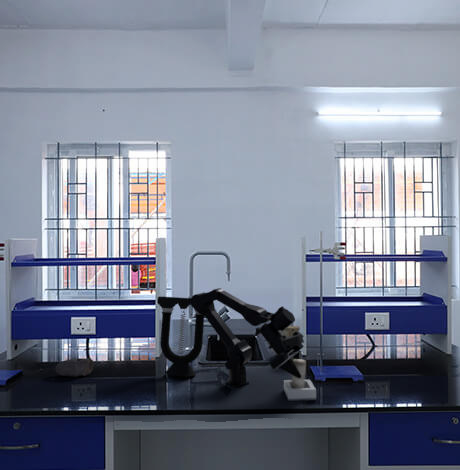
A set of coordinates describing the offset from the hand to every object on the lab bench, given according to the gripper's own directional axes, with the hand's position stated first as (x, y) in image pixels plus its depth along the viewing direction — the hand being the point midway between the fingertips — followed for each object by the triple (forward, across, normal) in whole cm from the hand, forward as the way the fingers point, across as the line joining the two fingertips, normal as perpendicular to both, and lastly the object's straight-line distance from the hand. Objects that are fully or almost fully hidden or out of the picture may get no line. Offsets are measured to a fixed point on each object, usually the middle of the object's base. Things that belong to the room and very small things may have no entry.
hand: (302, 375), depth 143 cm
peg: (+3, 0, +6) cm, 6 cm away
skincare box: (-11, +43, +23) cm, 50 cm away
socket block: (+4, 0, +6) cm, 7 cm away
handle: (-6, +34, +17) cm, 39 cm away
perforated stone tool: (-53, -22, +71) cm, 92 cm away
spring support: (-29, -3, +42) cm, 52 cm away
